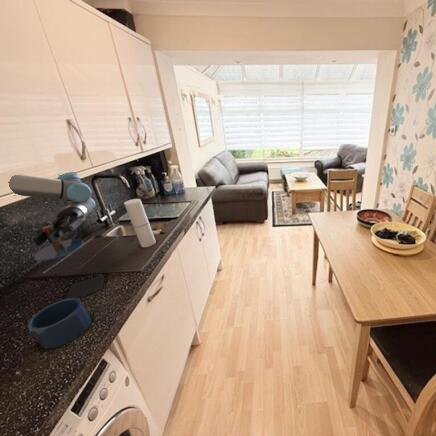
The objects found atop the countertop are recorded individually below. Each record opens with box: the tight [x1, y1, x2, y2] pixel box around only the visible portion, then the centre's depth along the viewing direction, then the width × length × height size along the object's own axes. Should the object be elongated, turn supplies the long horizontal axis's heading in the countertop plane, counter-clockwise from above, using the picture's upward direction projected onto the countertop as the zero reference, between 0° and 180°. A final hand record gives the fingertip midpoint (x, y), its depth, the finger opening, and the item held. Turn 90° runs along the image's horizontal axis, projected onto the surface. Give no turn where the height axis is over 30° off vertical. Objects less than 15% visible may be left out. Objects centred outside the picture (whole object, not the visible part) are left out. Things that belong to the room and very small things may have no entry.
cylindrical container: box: [123, 198, 157, 248], centre depth 122 cm, size 7×7×25 cm
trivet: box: [65, 273, 106, 299], centre depth 98 cm, size 12×12×1 cm
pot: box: [26, 298, 92, 349], centre depth 77 cm, size 13×13×8 cm
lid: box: [34, 225, 85, 262], centre depth 85 cm, size 14×14×10 cm
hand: (43, 241), depth 80 cm, fingers closed on lid, 3 cm apart
